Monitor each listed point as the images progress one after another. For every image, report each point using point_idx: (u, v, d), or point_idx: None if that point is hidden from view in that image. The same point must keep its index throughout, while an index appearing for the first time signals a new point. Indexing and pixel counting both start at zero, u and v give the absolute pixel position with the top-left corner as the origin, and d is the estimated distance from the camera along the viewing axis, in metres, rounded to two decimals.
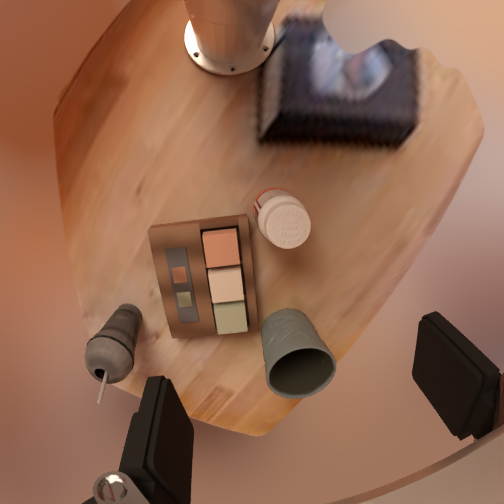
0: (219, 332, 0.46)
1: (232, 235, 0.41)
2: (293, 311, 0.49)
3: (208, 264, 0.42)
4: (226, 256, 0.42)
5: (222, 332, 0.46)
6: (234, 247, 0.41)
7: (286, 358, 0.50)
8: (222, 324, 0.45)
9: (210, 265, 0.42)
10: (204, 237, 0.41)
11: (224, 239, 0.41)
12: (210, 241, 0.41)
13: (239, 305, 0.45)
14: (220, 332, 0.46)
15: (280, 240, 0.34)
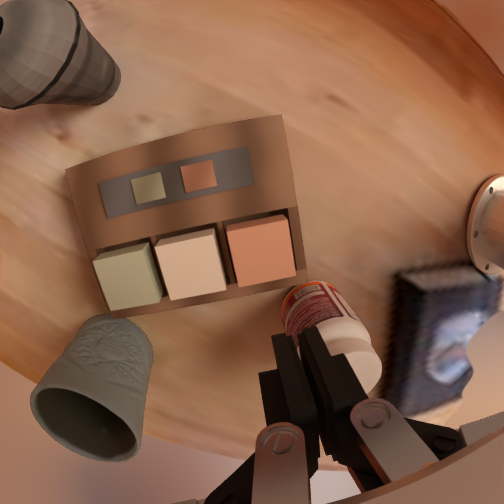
0: (97, 263, 0.22)
1: (290, 269, 0.24)
2: (151, 358, 0.29)
3: (233, 234, 0.22)
4: (251, 263, 0.23)
5: (98, 268, 0.22)
6: (269, 275, 0.24)
7: None
8: (113, 267, 0.22)
9: (231, 237, 0.23)
10: (285, 223, 0.23)
11: (282, 257, 0.23)
12: (278, 234, 0.23)
13: (157, 292, 0.24)
14: (97, 265, 0.22)
15: None
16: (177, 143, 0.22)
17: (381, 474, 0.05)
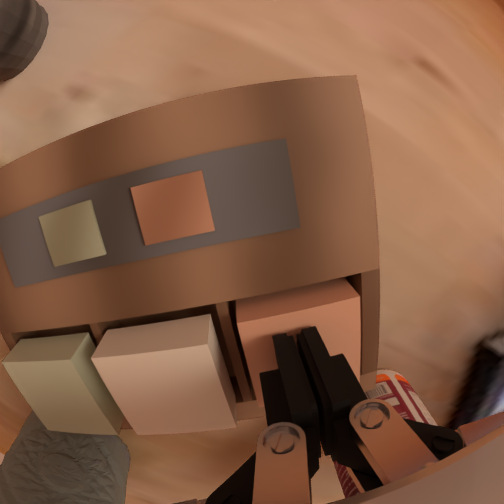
0: (8, 366, 0.10)
1: None
2: (127, 464, 0.17)
3: (250, 327, 0.11)
4: None
5: (12, 374, 0.10)
6: None
7: None
8: (32, 377, 0.10)
9: (247, 333, 0.11)
10: (354, 303, 0.11)
11: None
12: (339, 324, 0.11)
13: (112, 420, 0.11)
14: (9, 369, 0.10)
15: None
16: (125, 134, 0.09)
17: (380, 475, 0.05)
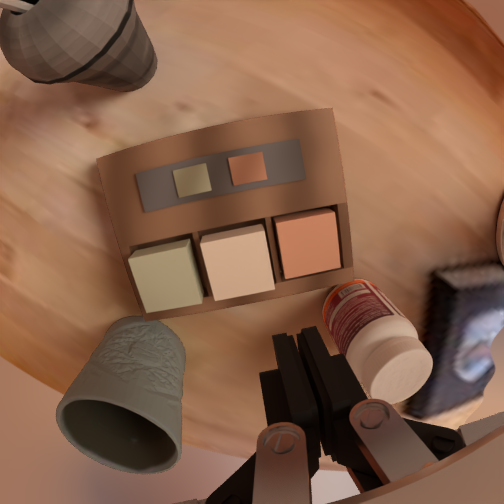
0: (133, 261, 0.21)
1: (335, 261, 0.24)
2: None
3: (282, 225, 0.23)
4: (298, 255, 0.23)
5: (134, 267, 0.21)
6: (316, 266, 0.24)
7: None
8: (151, 265, 0.21)
9: (281, 229, 0.23)
10: (332, 215, 0.23)
11: (329, 249, 0.23)
12: (325, 226, 0.23)
13: (199, 292, 0.23)
14: (133, 263, 0.21)
15: (386, 374, 0.18)
16: (224, 133, 0.21)
17: (380, 475, 0.05)
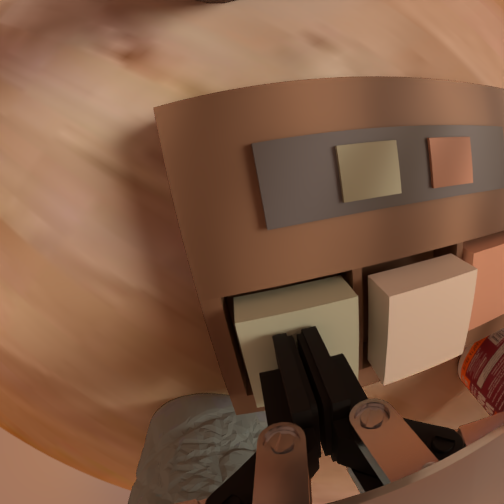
0: (246, 327, 0.11)
1: None
2: None
3: (479, 256, 0.12)
4: (484, 298, 0.12)
5: (247, 337, 0.11)
6: (494, 311, 0.13)
7: None
8: None
9: (476, 262, 0.12)
10: None
11: None
12: None
13: None
14: (246, 330, 0.11)
15: None
16: (417, 93, 0.10)
17: (380, 475, 0.05)
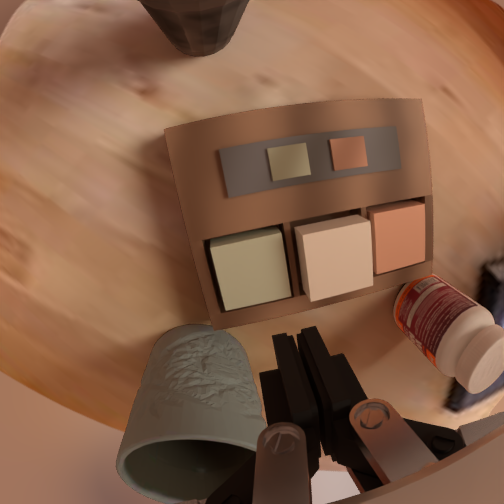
0: (216, 250, 0.19)
1: (421, 254, 0.21)
2: None
3: (379, 216, 0.20)
4: (391, 248, 0.21)
5: (217, 257, 0.19)
6: (405, 260, 0.21)
7: None
8: (239, 255, 0.19)
9: (378, 220, 0.20)
10: (422, 207, 0.20)
11: (417, 242, 0.21)
12: (416, 218, 0.20)
13: None
14: (217, 252, 0.19)
15: (484, 362, 0.15)
16: (323, 112, 0.18)
17: (380, 475, 0.05)
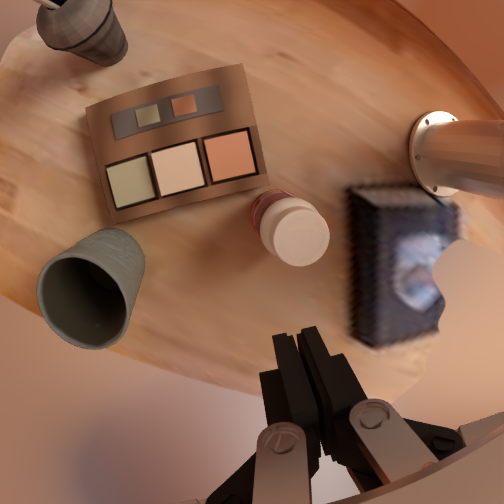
0: (110, 169, 0.30)
1: (250, 167, 0.32)
2: (143, 265, 0.36)
3: (209, 141, 0.31)
4: (222, 162, 0.31)
5: (110, 173, 0.30)
6: (236, 171, 0.32)
7: (78, 272, 0.33)
8: (122, 171, 0.30)
9: (207, 144, 0.31)
10: (245, 133, 0.31)
11: (244, 158, 0.32)
12: (240, 141, 0.31)
13: (153, 189, 0.32)
14: (110, 171, 0.30)
15: (284, 230, 0.26)
16: (169, 85, 0.29)
17: (380, 475, 0.05)
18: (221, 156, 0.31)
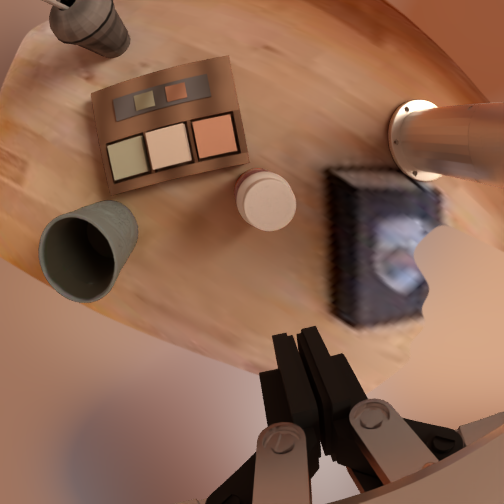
0: (110, 147, 0.34)
1: (233, 146, 0.35)
2: (136, 234, 0.39)
3: (196, 123, 0.34)
4: (207, 142, 0.35)
5: (110, 150, 0.34)
6: (219, 149, 0.35)
7: (77, 238, 0.37)
8: (120, 148, 0.34)
9: (195, 125, 0.34)
10: (228, 116, 0.34)
11: (227, 138, 0.35)
12: (224, 123, 0.34)
13: (146, 165, 0.35)
14: (110, 148, 0.34)
15: (254, 197, 0.29)
16: (164, 74, 0.32)
17: (380, 474, 0.05)
18: (207, 136, 0.34)
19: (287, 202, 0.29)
